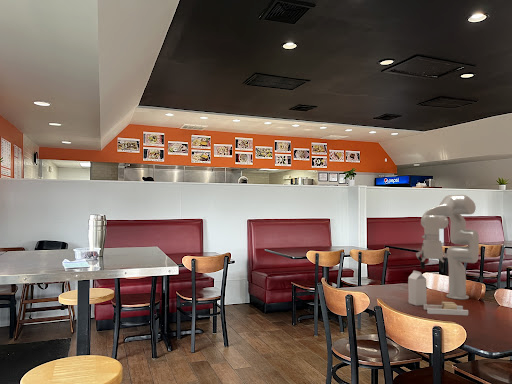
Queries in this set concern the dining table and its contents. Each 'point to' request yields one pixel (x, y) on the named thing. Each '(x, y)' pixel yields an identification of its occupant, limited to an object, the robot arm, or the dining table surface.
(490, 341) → the dining table surface
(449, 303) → the maple block
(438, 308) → the channel
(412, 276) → the milk carton
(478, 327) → the dining table surface
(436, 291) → the dining table surface
